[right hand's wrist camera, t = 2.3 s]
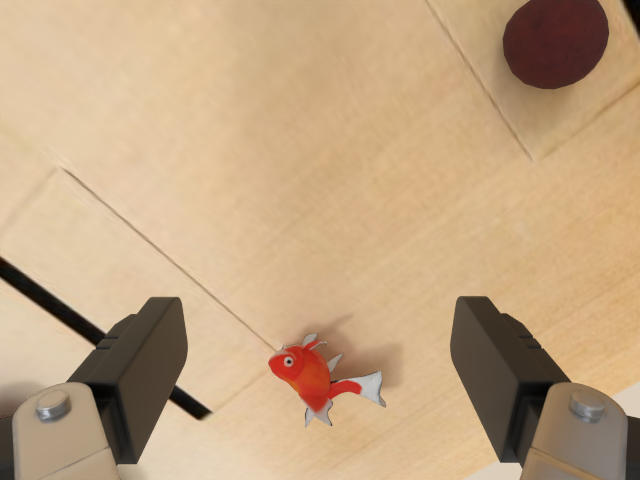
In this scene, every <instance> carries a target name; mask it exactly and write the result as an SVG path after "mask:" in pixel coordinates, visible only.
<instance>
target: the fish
mask: <svg viewBox="0 0 640 480" xmlns="http://www.w3.org/2000/svg"><path fill="white" fill-rule="evenodd" d="M316 337H317V334H315V333H314V334H310V335H308V336H306V337H305V339H304V342H303V343H302V344H301V345H292V346H289V347H286V348H282V349H281V350H280V351H278V352H276V353H275V354H274V355H273V356H272V357H271V358H270V360H269V362H268V364H269V366H270V368H271V370H272V372H273V373H274V374H275V375H276V376H278V377H279V378H281V379H282V380H284V381H286V382H287V383H289V384H290V385H291V386H292V388H293V389H294V390H295V391H297V392H298V393H299V396H300V398H301V399H302V400H303V402H304V403H305V404H306V406H307V410H306V413H305V428H306V427H307V425H308V424H309V422H310V421H311V420H312V418H313V417H314V416H315V417H316V418H318V419H319V420H321V421H323V422H324V423H326V424H328V425H330V426H332V423H331V421H330V420H329V417H328V411H329V409H330V408H331V407H332V405H333V402H332V401H331V399H332V398H334V397H335V396H337V395H339V394H341V393H344V392H353V393H356V394H358V395H361V396H364V397H366V398H368V399H370V400H372V401H374V402H375V403H377V404H379V405H381V406H383V407H386V403H385V401H384V400H383V399H382V398H381V397H380V388H381V384H382V377H381V371H378V372H374V373H371V374H369V375H366V376H363V377H358V378H351V379H344V380H337V381H331V380H330V373H332V371H333V370H334V368H335V366H336V365H337V363H338V361H339V360H340V358H341V357H342V355H343V353H342V354H340V355H338V356H336V357H335V358H333V359H332V360H331V361H330V362H328V363H326V361H325V359H324V358H323V357H322V355H321V354H320V353H319V352H318V351H317V350H315V349H313V348H315V347H316V346H317V345H318V344H321V343H325V344H327V343H328V342H325V341H320V340H315V339H316ZM283 347H284V345H283Z"/></svg>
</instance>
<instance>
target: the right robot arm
mask: <svg viewBox="0 0 640 480" xmlns="http://www.w3.org/2000/svg"><path fill="white" fill-rule="evenodd" d="M450 350H451V357H452V361H453V364H454V366H455V368H456V370H457V372H458V375H459V377H460V379H461V381H462V383H463V385H464V387H465V389H466V391H467V394H468V396H469V398H470V400H471V402H472V404H473V406H474V408H475V410H476V412H477V415H478V417H479V419H480V421H481V423H482V425H483V427H484V429H485V431H486V433H487V436H488V438H489V440H490V442H491V444H492V446H493V448H494V450H495V452H496V455H497V457H498V459H499V461H500V462H501V463H520V465H521V467H522V469H523V470H522V474H521V477H520V480H640V418H636V417H631V416H627V415H626V413H625V412H624V410H623V409H622V408H621V407H620V406H619V404H617V403H616V402H615V401H614V400H613V399H612V398H610V397H609V396H607V395H606V394H604V393H602V392H600V391H598V390H596V389H594V388H592V387H589V386H586V385H583V384H578V383H572V382H571V381H570V379H569V378H568V377H567V376H566V375H565V374H564V372H563V371H562V370H561V369H560V368H559V366H558V365H557V364H556V363H555V362H554V360H553V359H552V358H551V357H550V356H549V355H548V353H547V352H546V351H545V350H544V349H542V348H541V345H540V344H539V343H538V341H537V340H536V339H535V338H533V336H532V334H531V333H530V332H529V331H528V330H527V328H526V327H525V326H524V325H523V324H522V323H521V322H519V321H518V320H516V319H514V318H513V317H511V316H510V315H508V314H507V313H500V312H499V311H498V309H497V308H496V307H495V306H494V304H493V303H492V302H491V301H490V299H489V298H488V297H486V296H460V297H458V299H457V302H456V307H455V314H454V321H453V328H452V334H451V342H450ZM187 351H188V342H187V335H186V328H185V322H184V315H183V308H182V303H181V300H180V298H179V297H151V298H150V299H149V300H148V301H147V302H146V303H145V305H144V306H143V307H142V308H141V310H140V311H139V312H138V313H137V314H131V315H129V316H127V317H126V318H124V319H123V320H121V321H120V322H118V323H117V324H115V325H114V326H113V327H112V329H111V330H110V331H109V332H108V333H107V334H106V336H105V338H104V339H102V340H101V341H100V343H99V344H98V345H97V346H96V349H95V350H93V351H92V352H91V353H90V354H89V356H88V357H87V358H86V359H85V360H84V361H83V363H82V364H81V365H80V366H79V367H78V369H77V370H76V371H75V372H74V373H73V374H72V376H71V377H70V378H69V379H68V380H67V381H66V383H62V384H57V385H54V386H51V387H48V388H46V389H44V390H42V391H40V392H38V393H36V394H34V395H33V396H31V397H30V398H28V399H27V400H26V401H25V402H24V403H22V404H21V405H20V407H19V408H18V409H17V410H16V412H15V413H14V416H11V417H7V418H3V419H0V480H120V477H119V474H118V470H117V467H116V466H117V465H118V464H137V462H138V460H139V458H140V456H141V454H142V452H143V450H144V448H145V446H146V444H147V442H148V440H149V438H150V435H151V433H152V431H153V429H154V427H155V425H156V423H157V421H158V419H159V417H160V415H161V413H162V411H163V408H164V406H165V404H166V402H167V400H168V398H169V396H170V394H171V392H172V390H173V388H174V386H175V383H176V381H177V379H178V377H179V375H180V373H181V371H182V369H183V367H184V365H185V362H186V358H187Z"/></svg>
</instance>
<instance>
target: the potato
mask: <svg viewBox="0 0 640 480" xmlns="http://www.w3.org/2000/svg"><path fill="white" fill-rule="evenodd" d="M608 36H609V28H608V20H607V17H606V15H605V12H604V10H603V8H602V6H601V5H600V3H599V2H598V0H530V1H529V2H527V3H526V4H525V5H523V6H522V7H521V8H519V9H518V10H517V11H516V12H515V14H514V15H513V16H512V18H511V19H510V20H509V22H508V23H507V25H506V29H505V32H504V36H503V47H504V56H505V58H506V60H507V62H508V64H509V67H510V69H511V71H512V73H513V74H514V75H515V76H517V77H518V78H519V79H520V80H521V81H522V82H523V83H525V84H528V85H531V86H534V87H537V88H542V89H557V88H560V87H564V86H567V85H570V84H574V83H575V82H577V81H579V80H581V79H582V78H584V77H585V76H586V75H587V74H588V73H590V72H591V71H592V70H593V69H594V68H595V66H596V65H597V63H598V62H599V61H600V59H601V58H602V56H603V53H604V51H605V48H606V46H607V41H608Z"/></svg>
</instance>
